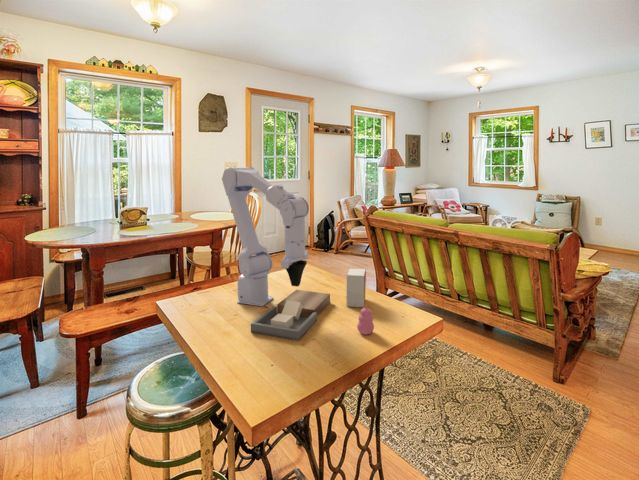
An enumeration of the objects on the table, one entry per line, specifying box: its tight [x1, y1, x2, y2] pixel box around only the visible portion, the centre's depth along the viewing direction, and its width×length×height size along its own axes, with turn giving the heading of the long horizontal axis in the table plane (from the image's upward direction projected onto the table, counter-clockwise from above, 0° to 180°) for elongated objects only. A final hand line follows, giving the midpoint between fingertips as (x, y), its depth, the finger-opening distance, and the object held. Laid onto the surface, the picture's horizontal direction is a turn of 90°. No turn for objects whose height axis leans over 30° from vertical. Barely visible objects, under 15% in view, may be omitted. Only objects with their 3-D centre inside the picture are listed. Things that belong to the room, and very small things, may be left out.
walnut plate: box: [276, 289, 331, 318], centre depth 114 cm, size 12×14×3 cm
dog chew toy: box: [356, 306, 375, 335], centre depth 97 cm, size 4×4×7 cm
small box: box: [346, 267, 367, 308], centre depth 118 cm, size 8×6×10 cm
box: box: [250, 305, 318, 342], centre depth 102 cm, size 14×13×2 cm
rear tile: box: [282, 300, 303, 320], centre depth 106 cm, size 4×4×2 cm
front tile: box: [271, 314, 293, 328], centre depth 101 cm, size 4×4×2 cm
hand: (295, 285), depth 107 cm, fingers closed
